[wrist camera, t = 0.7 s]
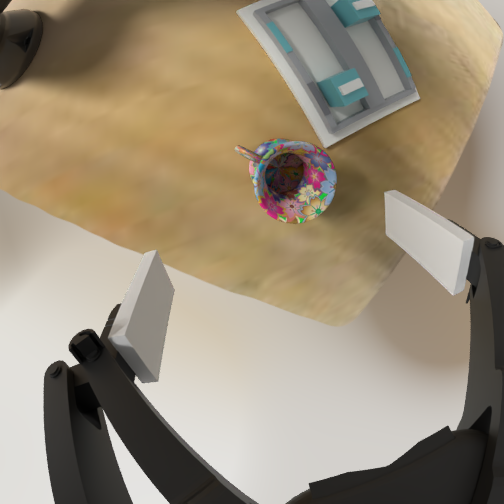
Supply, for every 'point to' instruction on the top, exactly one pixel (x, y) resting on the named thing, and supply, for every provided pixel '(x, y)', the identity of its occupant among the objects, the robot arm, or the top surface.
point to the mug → (291, 179)
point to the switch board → (331, 62)
